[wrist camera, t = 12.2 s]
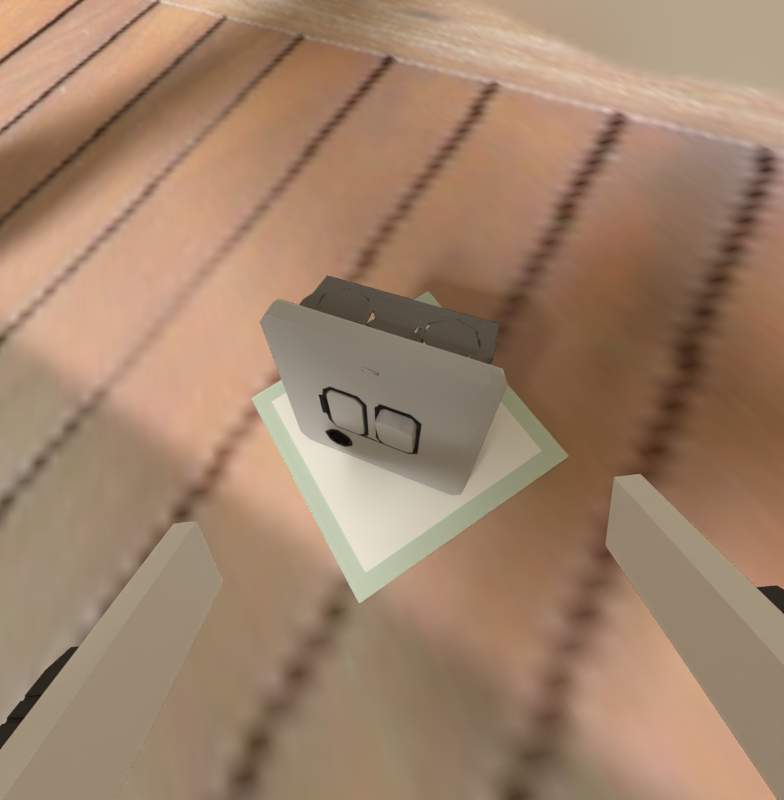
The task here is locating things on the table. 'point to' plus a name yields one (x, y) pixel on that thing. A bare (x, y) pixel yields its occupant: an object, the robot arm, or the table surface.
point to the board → (403, 488)
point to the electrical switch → (389, 379)
